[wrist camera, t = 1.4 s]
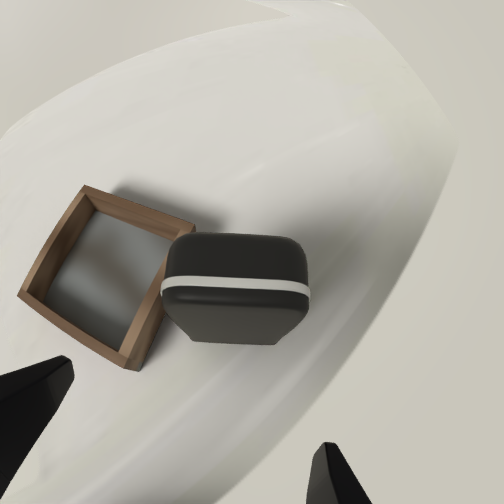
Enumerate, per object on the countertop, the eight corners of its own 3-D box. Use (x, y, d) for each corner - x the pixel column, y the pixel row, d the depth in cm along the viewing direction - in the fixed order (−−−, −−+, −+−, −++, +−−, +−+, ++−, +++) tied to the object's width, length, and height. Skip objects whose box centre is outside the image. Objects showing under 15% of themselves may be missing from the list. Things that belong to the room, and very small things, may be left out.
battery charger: (279, 298, 23) (316, 224, 13) (279, 345, 22) (323, 306, 11) (191, 294, 23) (161, 216, 13) (187, 341, 21) (147, 298, 11)
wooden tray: (138, 371, 20) (123, 368, 17) (38, 308, 21) (16, 295, 18) (198, 245, 25) (194, 224, 22) (97, 206, 26) (84, 184, 23)
